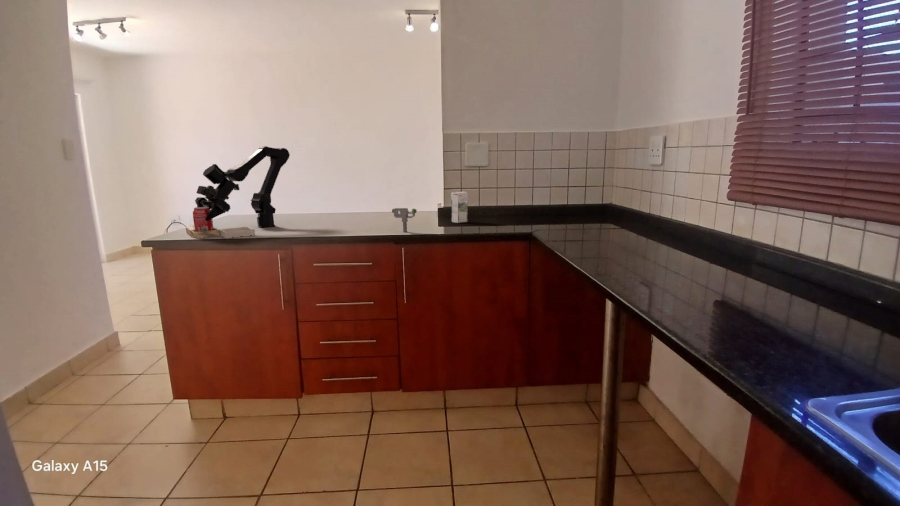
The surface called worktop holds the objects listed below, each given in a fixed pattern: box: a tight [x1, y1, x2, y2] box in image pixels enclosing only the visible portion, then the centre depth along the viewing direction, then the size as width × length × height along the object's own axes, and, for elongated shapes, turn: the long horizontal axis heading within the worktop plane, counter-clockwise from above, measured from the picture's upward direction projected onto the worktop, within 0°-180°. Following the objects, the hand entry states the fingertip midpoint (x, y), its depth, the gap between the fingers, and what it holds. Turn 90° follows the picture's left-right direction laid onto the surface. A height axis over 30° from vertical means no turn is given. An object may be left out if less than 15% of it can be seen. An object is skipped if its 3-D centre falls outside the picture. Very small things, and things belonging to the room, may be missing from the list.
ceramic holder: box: [218, 226, 256, 239], centre depth 198 cm, size 12×12×2 cm
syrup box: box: [450, 190, 469, 224], centre depth 222 cm, size 6×6×14 cm
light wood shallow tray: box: [185, 226, 220, 239], centre depth 202 cm, size 10×20×2 cm, turn 37°
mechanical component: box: [391, 207, 418, 233], centre depth 197 cm, size 3×10×10 cm, turn 78°
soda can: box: [192, 206, 214, 232], centre depth 197 cm, size 7×7×12 cm
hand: (200, 219), depth 196 cm, fingers open, 9 cm apart
